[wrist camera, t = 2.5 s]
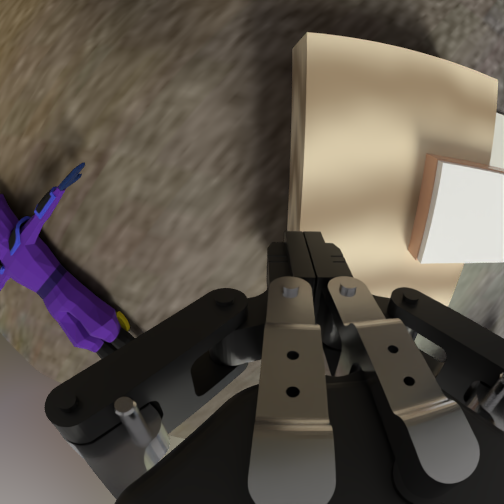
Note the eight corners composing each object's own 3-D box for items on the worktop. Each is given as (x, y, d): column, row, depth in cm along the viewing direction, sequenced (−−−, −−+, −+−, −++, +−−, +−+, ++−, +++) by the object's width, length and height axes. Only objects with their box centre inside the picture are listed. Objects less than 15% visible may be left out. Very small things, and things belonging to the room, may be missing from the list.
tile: (426, 153, 17) (442, 160, 15) (513, 171, 17) (529, 179, 15) (407, 250, 20) (419, 264, 18) (492, 250, 20) (505, 263, 18)
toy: (251, 315, 33) (53, 96, 21) (251, 354, 28) (16, 104, 16) (110, 386, 41) (-32, 252, 29) (100, 414, 36) (-55, 273, 24)
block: (292, 48, 20) (306, 32, 14) (447, 76, 19) (497, 80, 13) (284, 273, 29) (291, 324, 23) (415, 272, 29) (444, 314, 23)
